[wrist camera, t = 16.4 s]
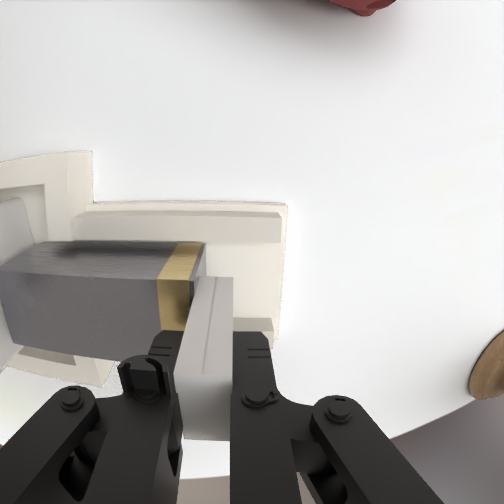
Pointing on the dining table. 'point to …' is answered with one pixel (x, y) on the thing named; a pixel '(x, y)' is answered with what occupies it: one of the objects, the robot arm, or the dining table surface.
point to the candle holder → (489, 371)
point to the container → (4, 249)
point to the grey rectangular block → (99, 295)
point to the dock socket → (150, 231)
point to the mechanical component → (363, 5)
